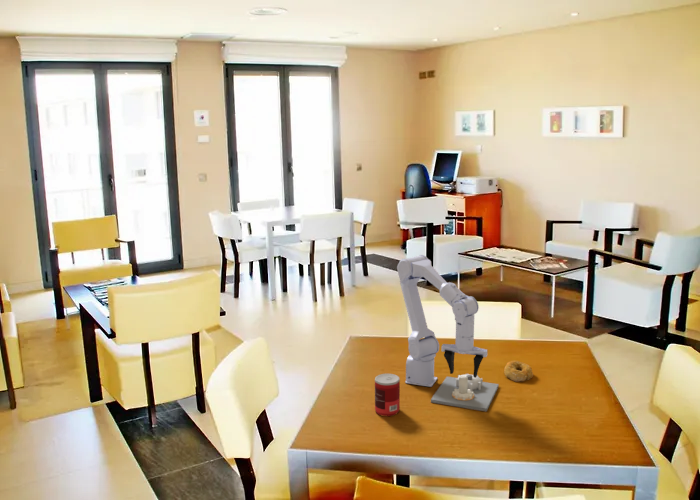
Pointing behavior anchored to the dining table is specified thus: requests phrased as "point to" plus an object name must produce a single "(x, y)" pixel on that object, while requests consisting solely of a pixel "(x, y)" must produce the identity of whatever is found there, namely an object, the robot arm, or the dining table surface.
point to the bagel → (518, 371)
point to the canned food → (387, 394)
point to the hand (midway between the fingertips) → (463, 374)
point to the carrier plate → (480, 389)
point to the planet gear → (463, 389)
